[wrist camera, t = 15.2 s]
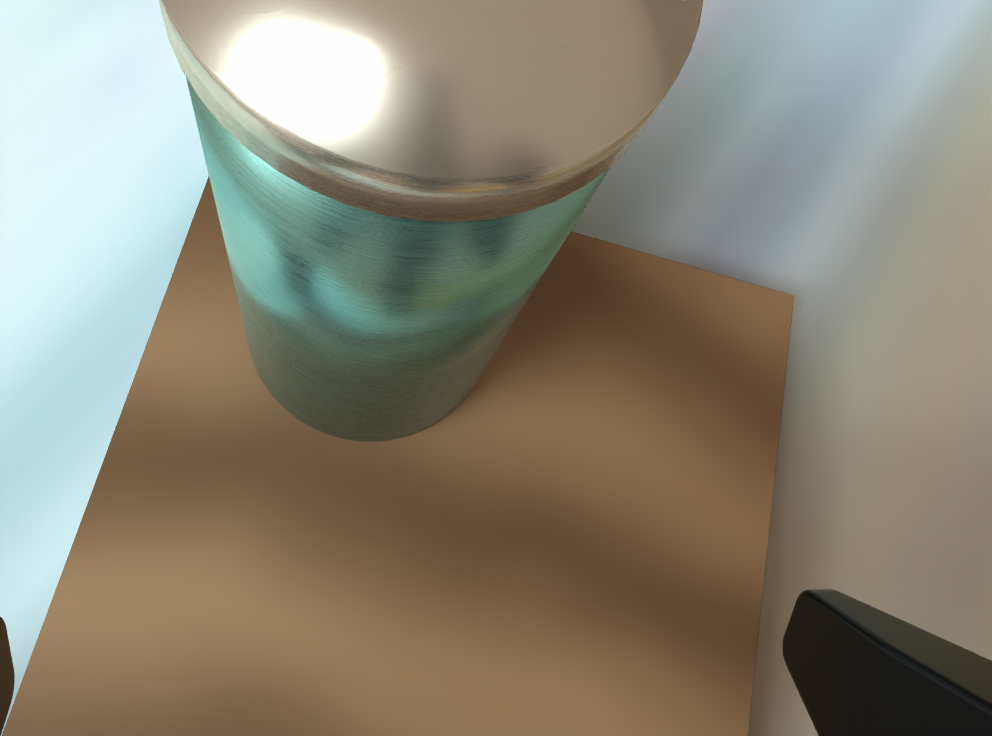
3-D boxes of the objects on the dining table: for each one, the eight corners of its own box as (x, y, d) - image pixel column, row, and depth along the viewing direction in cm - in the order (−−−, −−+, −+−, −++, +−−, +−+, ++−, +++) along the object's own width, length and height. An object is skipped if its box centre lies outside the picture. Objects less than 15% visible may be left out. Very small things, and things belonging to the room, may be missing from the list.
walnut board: (677, 1015, 20) (714, 1054, 19) (-27, 888, 19) (-66, 916, 17) (759, 320, 26) (794, 295, 24) (232, 170, 24) (225, 131, 23)
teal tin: (536, 378, 22) (802, 64, 10) (312, 490, 20) (305, 270, 8) (422, 178, 23) (540, -328, 11) (199, 266, 21) (44, -226, 9)
